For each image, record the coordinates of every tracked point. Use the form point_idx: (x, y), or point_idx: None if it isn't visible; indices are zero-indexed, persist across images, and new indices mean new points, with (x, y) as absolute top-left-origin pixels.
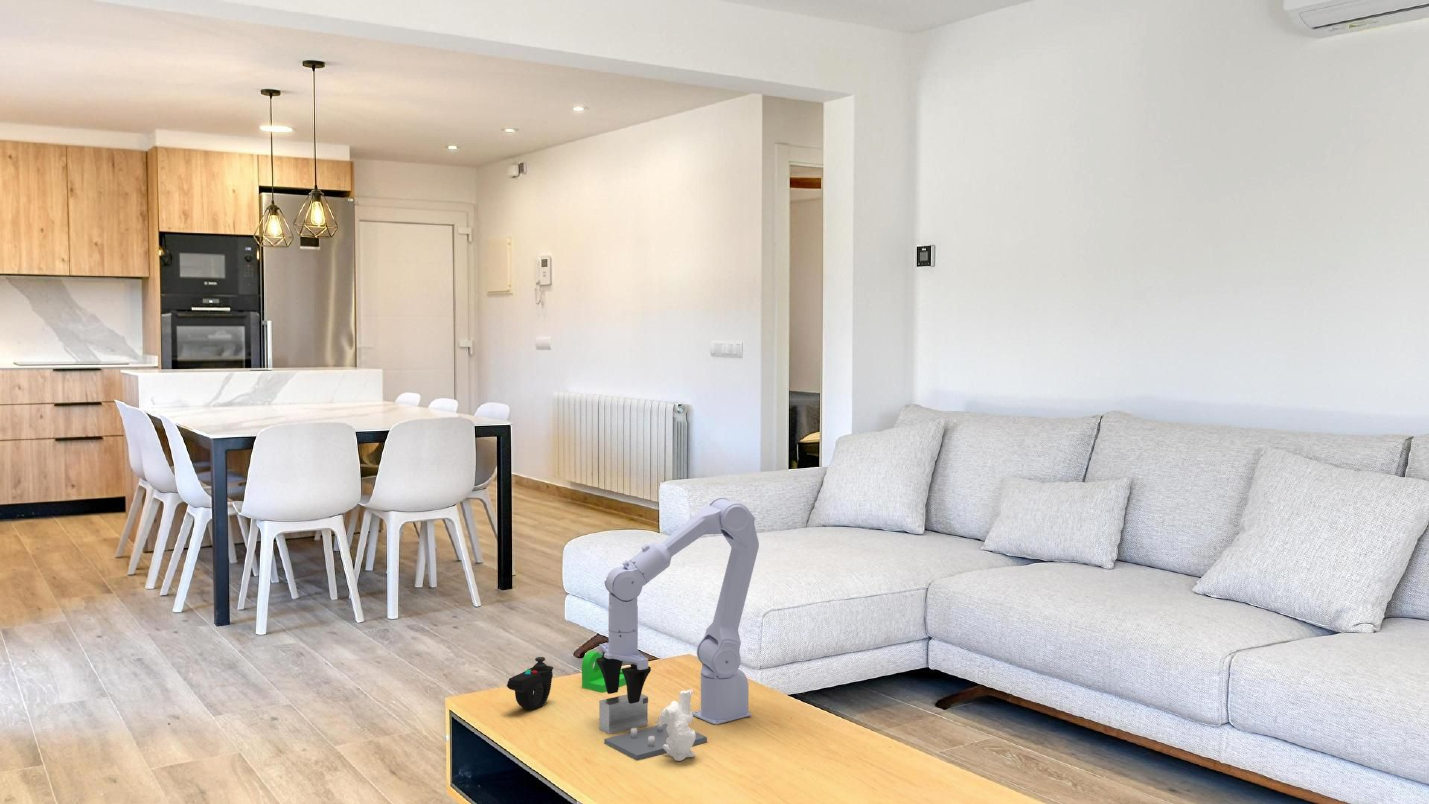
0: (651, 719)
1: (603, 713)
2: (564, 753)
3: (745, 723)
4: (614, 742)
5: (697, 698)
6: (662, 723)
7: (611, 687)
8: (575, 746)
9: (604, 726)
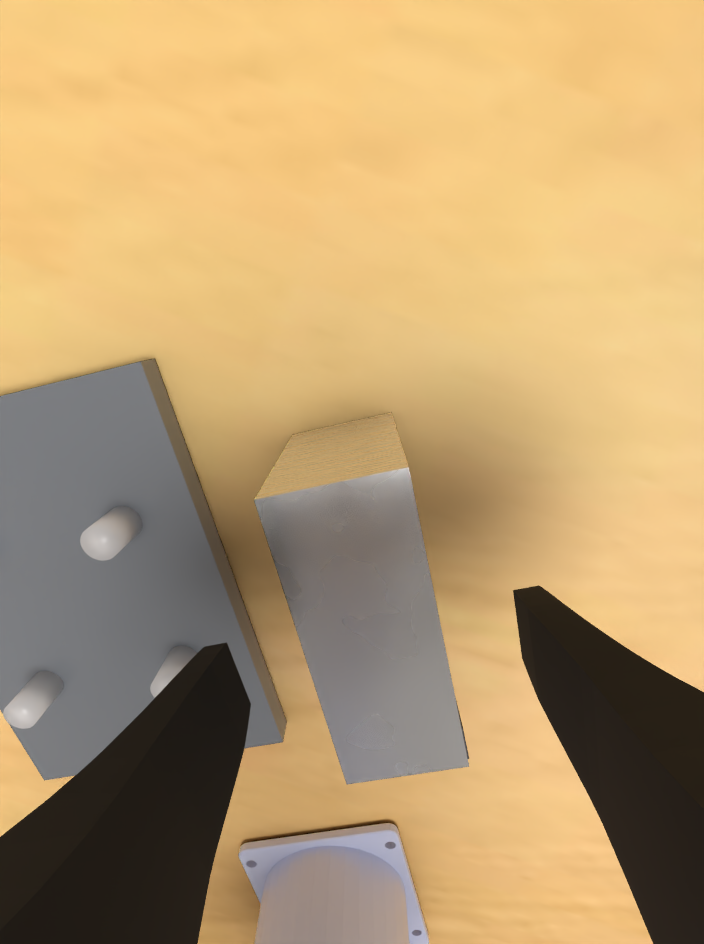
0: None
1: (344, 452)
2: (58, 45)
3: (223, 915)
4: (61, 396)
5: (576, 897)
6: (156, 695)
7: (534, 646)
8: (170, 172)
9: (338, 433)
